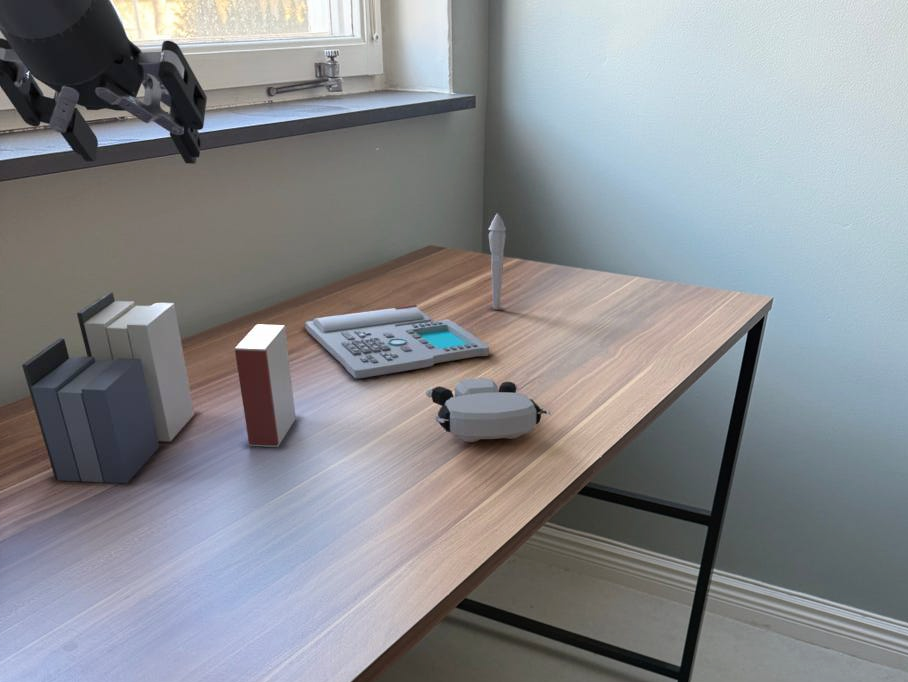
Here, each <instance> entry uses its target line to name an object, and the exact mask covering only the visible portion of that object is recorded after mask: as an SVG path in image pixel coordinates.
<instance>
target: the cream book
mask: <svg viewBox="0 0 908 682" xmlns="http://www.w3.org/2000/svg"><path fill="white" fill-rule="evenodd" d="M234 352H235V353H234V354H235V360H236V366H237V373H238V381H239V387H240V393H241V399H242V404H243V405H242V406H243V413H244V419H245V427H246V432H247V440H248V444H249V446H250V447H267V448H278V447H279V446H280V445H281V443H282V442H283V440H284V438H285V437H286V435H287V433H289V430H290V428H291V427H292V426H293V424H294V423H295V421H296V419H297V418H296V417H297V416H296V409H295V401H294V392H293V385H292V377H291V366H290V358H289V349H288V341H287V333H286V326H285V325H284V324H260V323H259V324H256V325H255V326H254V327H253V328H252V329H251V330H250V331H249V332H248V333H247V334H246V335H245V336H244V337H243V339H242V340H241V341H240V342H239V343H238V344H237V346H235V348H234Z"/></svg>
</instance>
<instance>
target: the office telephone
mask: <svg viewBox="0 0 908 682" xmlns="http://www.w3.org/2000/svg"><path fill="white" fill-rule="evenodd" d="M417 305H418V304H415V305H407V306H400V307H399V306H398V307H391V308H385V309H377V310H370V311H362V312H361V311H360V312H353V313H346V314H339V315H332V316H324V317H316V318H315V317H314V319H313V320H307V321H305V323H304V324H305V331H306V332H308V333H309V334H310V336H311V337H313V338H314V339H315V340H316V341H317V342H318V343H319V344H320V345H321V346H322V347H323V348H324V349H325V350H326V351H327V352H328V353H330V354H331V355H332V356H333V357H334V358H335V360H337V361H338V362H339V363H340V364H341V365H342V366H343V367H344V368H345V369H346V371H347V372H348V373H349V374H350V375H351V376H352V377H353V378H354V379H364V378H371V377H377V376H383V375H388V374H394V373H400V372H407V371H412V370H418V369H425V368H428V367H432V366H434V364H438V363H444V362H450V361H456V360H462V359H469V358H474V357H476V358H477V357H487V356H489V354H490V346H489V345H488V344H486V343H485V342H484V341H482V340H481V339H479V338H478V337H477V336H475V335H474V334H472V333H471V332H469V331H467V330H466V329H465V328H464V327H462V326H460V325H459V324H457V323H455V322H454V321H453V320H451V319H448V318H447V319H440V320H433V321H432V319H431V317H430V316H428V315H427V314H426V313H424V312H423V311H422V310H421V309H420V308H419V307H418V306H417Z"/></svg>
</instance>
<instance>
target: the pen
mask: <svg viewBox="0 0 908 682" xmlns="http://www.w3.org/2000/svg"><path fill="white" fill-rule="evenodd" d="M487 230H488V231H489V233H488V242H489V243H488V244H489V250H490V253H491V254H490V257H491V262H490V263H491V265H490V267H491V268H490V269H491V289H492V290H491V291H492V293H491V294H492V307H493V308H492V309H493V310H498V311H499V310H500V307H501V297H502V285H503V275H504V274H503V273H504V251H505V244H506V230H507V227H506V225H505V222H504V221H503V218H502V217H501V216H500V214H499V213H498V212H497V213H496V214H495V216H494V217H493V219H492V221H491V223H490V225H489V227H488V229H487Z"/></svg>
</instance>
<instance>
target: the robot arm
mask: <svg viewBox="0 0 908 682" xmlns="http://www.w3.org/2000/svg"><path fill="white" fill-rule="evenodd" d="M0 33H1V34H2V35H3V37H4V38H1V37H0V88H1V90H2V91H3V92H4V94H5V96H6V97H7V99H8V100H9V101H10V103H11V104H12V106H13V107H14V109H15V110H16V111H17V113H18V115H19V116H20V117H21V119H22V120H23V122H24V123H25V124H27V125H29V126H31V127H40V125H41V123H43V124H48V125H49V128H50V129H52V130H53V131H54V132H57V133H59V134H61V136H62V137H63V138H64V140H65V142H67V144H68V145H69V147H70V148H71V150H72V151H73V152H74V153H76V154H77V155H78V156H81V158H82V159H83V161H84V162H96V160H97V154H98V149H99V148H98V147H99V141H98V138H97V135H96V134H95V133H94V131H93V129H92V128H91V127H90V125H89V124H88V122H87V120H85V118H84V117H83V114H81V112H80V110H79V109H78V107H76V105H78V106H81V107H84V108H85V109H86V111H100V110H104V109H107V110H111V111H116V112H117V111H118V112H121V111H122V112H127V113H129V114H130V115H132V116H134V117H135V118H137V119H139V120H140V121H141V122H143V123H145V124H150V123H151V122H153V123H155V124H156V125H158V126H160V127H161V128H162V129H164V130H166V131H168V132H169V136H170V138H171V140H172V142H173V144H174V145H175V147H176V150H178V152H179V154H180V156H181V158H182V159H183V161H184V163H185V164H187V165H188V164H189V165H191V164H193V165H194V164H196V163H197V158H200V155H201V146H202V136H201V134H200V132H199V131H200V130H203V128H204V125H205V118H206V108H207V101H208V97H207V95H206V93H205V90H204V89H203V87H202V85H201V83H200V82H199V80H198V79H197V77H196V75H195V73H194V71H193V69H192V67H191V66H190V64H189V62H188V60H187V58H186V57H185V55H184V53H183V51H182V49H181V48H180V46H179V44H177V43H176V42H174V41H173V40H164V41H163V42H162V45H161V51H146V52H145V51H144V52H143V51H142V50H141V48H139V47H138V46H137V45H136V44H134V42H132V41H131V39H130V38H129V36H127V32H126V30H125V27H124V23H123V21H122V18H121V15H120V13H119V11H118V9H117V8H116V6H115V4H114V2H113V0H0ZM35 79H36V80H35ZM37 81H39V82H41V84H43V85H45V86H47V87H48V88H50V89H52V90H53V91H54V93H53V98H52V97H49V96H45V94H44V92H43V90H42V89H41V88H40V86H39V85H38V82H37ZM141 85H142V87H143V88H144V93H143V94H144V95H143V101H141V100H139V99H138V98H137V96H138V93H139V91H140V89H141ZM161 103H163V104H164V105H165V106H167V107H169V112H167V111H165V110H164V109H163V108H162V107H161Z"/></svg>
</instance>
